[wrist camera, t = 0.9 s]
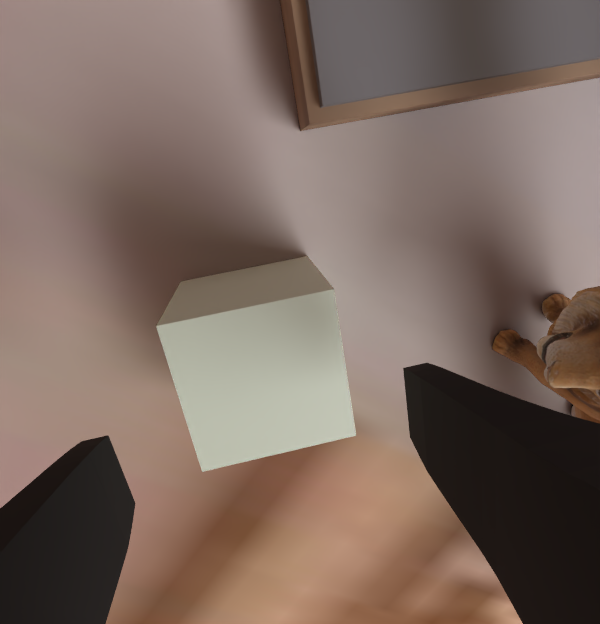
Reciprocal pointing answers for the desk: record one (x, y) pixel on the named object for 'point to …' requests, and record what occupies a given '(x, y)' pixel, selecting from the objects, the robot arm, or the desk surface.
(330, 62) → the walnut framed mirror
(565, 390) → the lion figurine
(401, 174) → the desk surface
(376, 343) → the desk surface
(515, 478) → the robot arm
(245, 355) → the sage block
